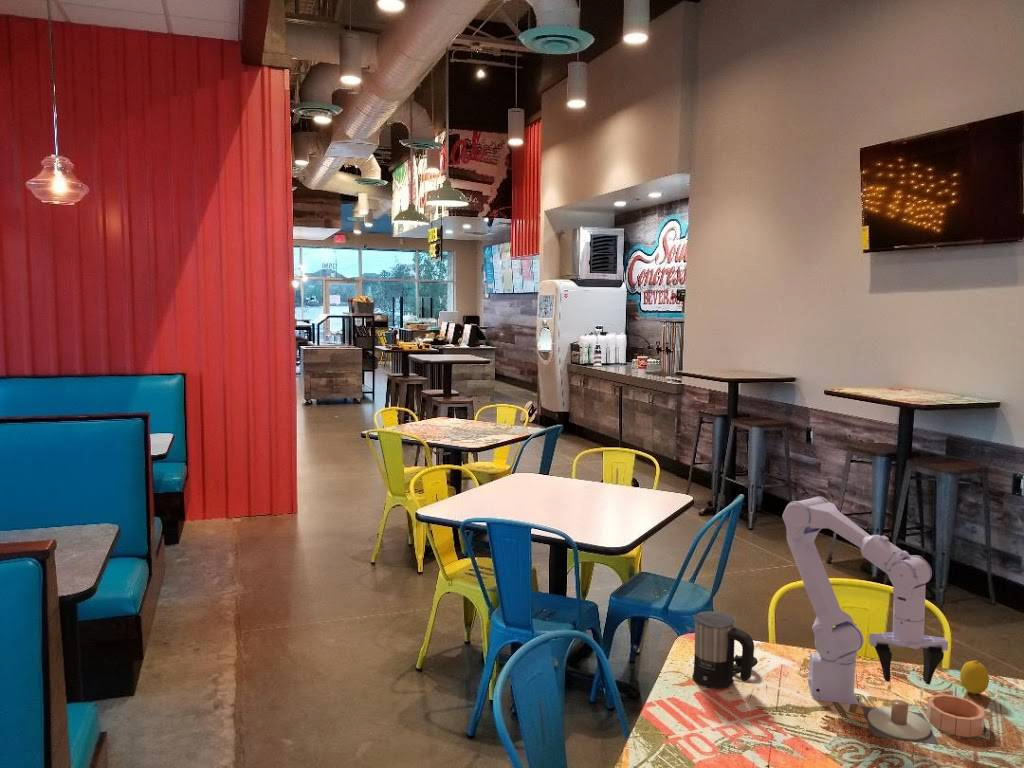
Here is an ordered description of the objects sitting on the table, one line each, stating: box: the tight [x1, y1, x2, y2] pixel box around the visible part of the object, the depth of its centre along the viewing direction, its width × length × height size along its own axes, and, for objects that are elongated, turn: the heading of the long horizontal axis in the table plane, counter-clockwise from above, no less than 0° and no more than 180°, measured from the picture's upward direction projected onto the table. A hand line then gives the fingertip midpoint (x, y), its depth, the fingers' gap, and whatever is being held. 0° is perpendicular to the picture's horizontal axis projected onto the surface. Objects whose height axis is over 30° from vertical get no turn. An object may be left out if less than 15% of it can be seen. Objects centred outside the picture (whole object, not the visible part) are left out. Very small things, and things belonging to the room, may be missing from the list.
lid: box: [867, 698, 932, 741], centre depth 161 cm, size 12×12×5 cm
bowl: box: [926, 693, 986, 738], centre depth 162 cm, size 10×10×4 cm
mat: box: [861, 705, 940, 745], centre depth 161 cm, size 12×12×1 cm
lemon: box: [959, 659, 990, 695], centre depth 174 cm, size 6×6×8 cm
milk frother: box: [692, 611, 759, 690], centre depth 182 cm, size 14×16×15 cm
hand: (906, 680), depth 160 cm, fingers open, 7 cm apart
